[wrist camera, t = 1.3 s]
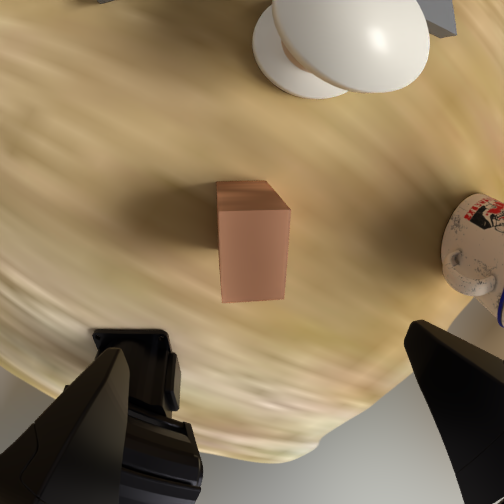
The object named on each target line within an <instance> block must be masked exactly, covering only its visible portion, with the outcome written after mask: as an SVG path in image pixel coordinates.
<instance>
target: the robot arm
mask: <svg viewBox="0 0 504 504" xmlns="http://www.w3.org/2000/svg"><path fill="white" fill-rule="evenodd" d="M97 335H98V336H97ZM92 336H93V339H94V342H95V344H96V347H97V349H98V351H97V354H96V357H95V360H94V361H93V362H92V363H91V364H90V365H89V366H88V367H87V368H86V369H85V370H84V371H83V372H82V373H81V374H80V375H79V376H78V377H77V378H76V379H75V380H74V381H73V382H72V383H71V384H70V385H65V388H64V391H63V392H62V393H61V395H60V396H59V397H58V398H57V399H56V400H55V401H54V402H53V403H52V404H51V405H50V406H49V407H48V408H47V409H46V410H45V411H44V412H43V413H42V414H41V415H40V416H39V418H37V419H36V420H35V424H34V423H33V424H31V426H30V427H29V428H28V429H27V430H26V431H25V432H24V433H23V434H22V435H21V436H20V437H19V438H18V439H17V440H16V441H15V442H14V443H13V444H12V445H11V446H10V447H8V448H7V449H6V450H5V451H4V452H3V453H2V454H0V504H195V502H196V499H197V498H198V496H199V493H200V492H201V487H200V486H201V482H202V478H203V465H202V461H201V457H200V454H199V451H198V448H197V444H196V441H195V437H194V434H193V430H192V427H191V424H190V423H187V422H180V421H177V420H174V419H172V411H177V410H178V409H179V403H180V382H181V371H180V367H179V362H178V358H177V355H176V354H175V353H174V352H172V349H171V345H170V340H169V336H168V333H167V332H165V331H162V330H153V331H136V330H95V331H94V333H93V335H92ZM99 336H100V337H99ZM160 336H163V338H162V337H160ZM404 347H405V350H406V352H407V355H408V358H409V360H410V363H411V366H412V368H413V371H414V374H415V377H416V379H417V382H418V384H419V387H420V389H421V391H422V393H423V395H424V398H425V400H426V402H427V404H428V407H429V409H430V411H431V413H432V415H433V418H434V420H435V423H436V425H437V428H438V430H439V432H440V434H441V437H442V440H443V442H444V445H445V447H446V450H447V453H448V456H449V458H450V461H451V463H452V466H453V469H454V472H455V475H456V478H457V481H458V484H459V488H460V491H461V494H462V497H463V500H464V503H465V504H493V503H495V502H496V501H498V500H499V499H501V498H503V497H504V360H502V359H499V358H498V357H496V356H494V355H492V354H490V353H488V352H486V351H484V350H482V349H480V348H478V347H476V346H474V345H472V344H470V343H468V342H467V341H465V340H462V339H461V338H459V337H457V336H454V335H452V334H451V333H449V332H447V331H445V330H443V329H441V328H439V327H437V326H435V325H433V324H431V323H429V322H427V321H425V320H417V321H413V322H412V323H411V324H410V326H409V329H408V331H407V334H406V336H405V339H404ZM498 504H504V499H503V500H501V501H500V502H499V503H498Z"/></svg>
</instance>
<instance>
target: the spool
mask: <svg viewBox="0 0 504 504" xmlns="http://www.w3.org/2000/svg"><path fill="white" fill-rule="evenodd" d="M429 47H430V40H429V31H428V27H427V23H426V20H425V17H424V14H423V12H422V10H421V8H420V6H419V4H418V3H417V1H416V0H272V5H270V6H269V7H268V8H267V9H266V10H265V11H264V12H263V13H262V15H261V16H260V18H259V20H258V22H257V24H256V26H255V28H254V32H253V36H252V49H253V54H254V57H255V60H256V62H257V64H258V66H259V68H260V70H261V71H262V72H263V74H264V75H265V76H266V77H267V78H268V80H269V81H271V82H272V83H273V84H274V85H275V86H277V87H278V88H280V89H281V90H283V91H285V92H287V93H289V94H291V95H294V96H297V97H300V98H306V99H325V98H331V97H336V96H339V95H342V94H344V93H346V92H348V91H351V92H357V93H380V92H389V91H395V90H398V89H401V88H403V87H405V86H407V85H409V84H410V83H412V82H413V81H414V80H415V79H416V78H417V77H418V76H419V75H420V73H421V72H422V70H423V69H424V67H425V64H426V62H427V59H428V55H429Z"/></svg>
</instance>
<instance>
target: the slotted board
mask: <svg viewBox="0 0 504 504" xmlns="http://www.w3.org/2000/svg"><path fill="white" fill-rule="evenodd" d="M97 1H98V2H99V3H100V4H101V3H105V2H109V1H114V0H97ZM416 1H417V3H418V4H419V6H420V8H421V10H422V12H423V14H424V17H425V20H426V23H427V27H428V31H429V33H430V34H433V35H435V36H437V37H439V38H444V37H450V36H456V35H457V31H456V23H455V16H454V10H453V4H452V0H416Z"/></svg>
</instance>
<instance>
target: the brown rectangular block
mask: <svg viewBox="0 0 504 504" xmlns="http://www.w3.org/2000/svg"><path fill="white" fill-rule="evenodd" d="M290 215H291V209H290V208H289V207H288V206H287V205H286V203H285V202H284V201H283V200H282V199H281V198H280V196H279V195H278V194H277V193H276V192H275V191H274V189H273V188H272V187H271V186H270V185H269V184H268V183H267V181H222V182H217V223H218V251H219V267H220V281H221V295H222V303H234V302H251V301H266V300H280V299H284V295H285V283H286V271H287V258H288V245H289V231H290Z"/></svg>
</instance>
